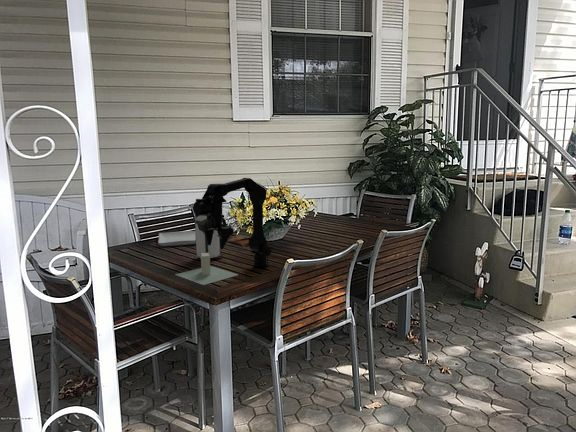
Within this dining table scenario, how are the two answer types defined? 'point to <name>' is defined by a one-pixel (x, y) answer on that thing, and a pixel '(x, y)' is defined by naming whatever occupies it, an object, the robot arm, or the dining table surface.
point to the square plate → (177, 238)
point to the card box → (205, 264)
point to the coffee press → (202, 242)
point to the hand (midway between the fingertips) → (215, 247)
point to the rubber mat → (206, 279)
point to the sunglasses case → (239, 240)
